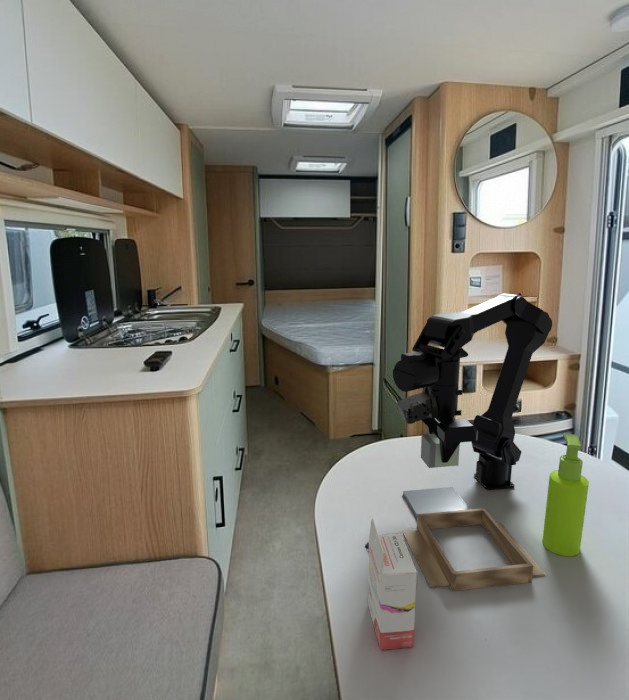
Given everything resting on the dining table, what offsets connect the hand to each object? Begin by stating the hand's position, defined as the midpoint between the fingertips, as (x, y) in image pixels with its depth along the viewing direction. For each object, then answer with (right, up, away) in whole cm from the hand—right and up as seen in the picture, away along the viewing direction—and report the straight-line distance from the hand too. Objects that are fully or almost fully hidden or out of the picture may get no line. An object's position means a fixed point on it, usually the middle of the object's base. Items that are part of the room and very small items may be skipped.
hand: (439, 456), depth 92 cm
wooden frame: (+2, -14, -12) cm, 18 cm away
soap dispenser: (+19, -13, -10) cm, 25 cm away
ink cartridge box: (-14, -18, -26) cm, 35 cm away
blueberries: (-13, -15, -10) cm, 22 cm away
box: (0, -1, 0) cm, 1 cm away
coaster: (0, -11, +3) cm, 11 cm away
